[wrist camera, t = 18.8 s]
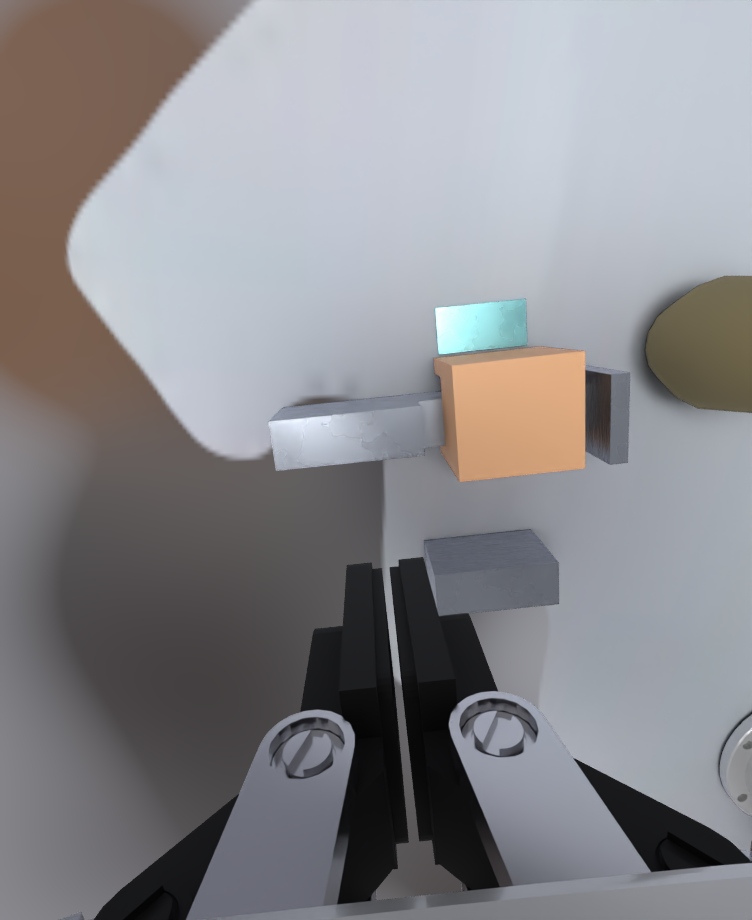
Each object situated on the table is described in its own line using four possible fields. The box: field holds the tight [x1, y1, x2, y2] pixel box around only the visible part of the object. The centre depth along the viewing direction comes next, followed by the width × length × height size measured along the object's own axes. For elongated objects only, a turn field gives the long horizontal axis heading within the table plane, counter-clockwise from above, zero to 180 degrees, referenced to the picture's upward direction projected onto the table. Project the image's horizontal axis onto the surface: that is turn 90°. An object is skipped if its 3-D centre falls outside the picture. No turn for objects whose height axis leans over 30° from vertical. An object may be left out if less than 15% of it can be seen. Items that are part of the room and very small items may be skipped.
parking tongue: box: [424, 529, 559, 616], centre depth 35 cm, size 3×8×6 cm, turn 96°
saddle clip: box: [434, 347, 585, 482], centre depth 30 cm, size 6×7×7 cm
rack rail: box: [268, 299, 630, 471], centre depth 31 cm, size 10×20×8 cm, turn 96°
